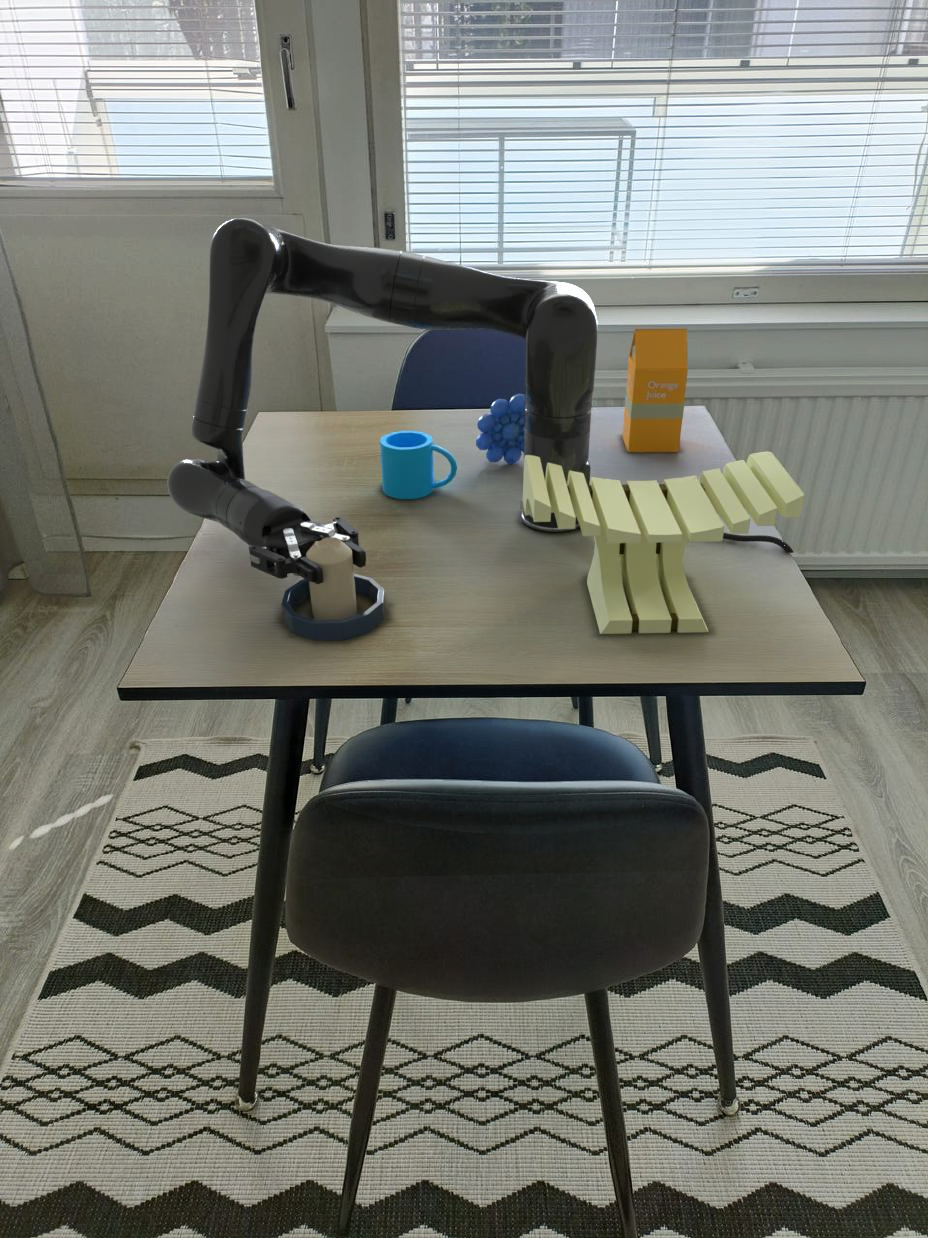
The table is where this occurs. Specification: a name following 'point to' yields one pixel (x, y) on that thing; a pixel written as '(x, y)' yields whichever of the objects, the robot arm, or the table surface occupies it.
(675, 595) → the slatted curved stool
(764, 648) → the table surface
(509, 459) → the blue ball flower
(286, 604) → the ring
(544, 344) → the robot arm
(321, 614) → the candle
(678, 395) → the orange juice
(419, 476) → the mug
